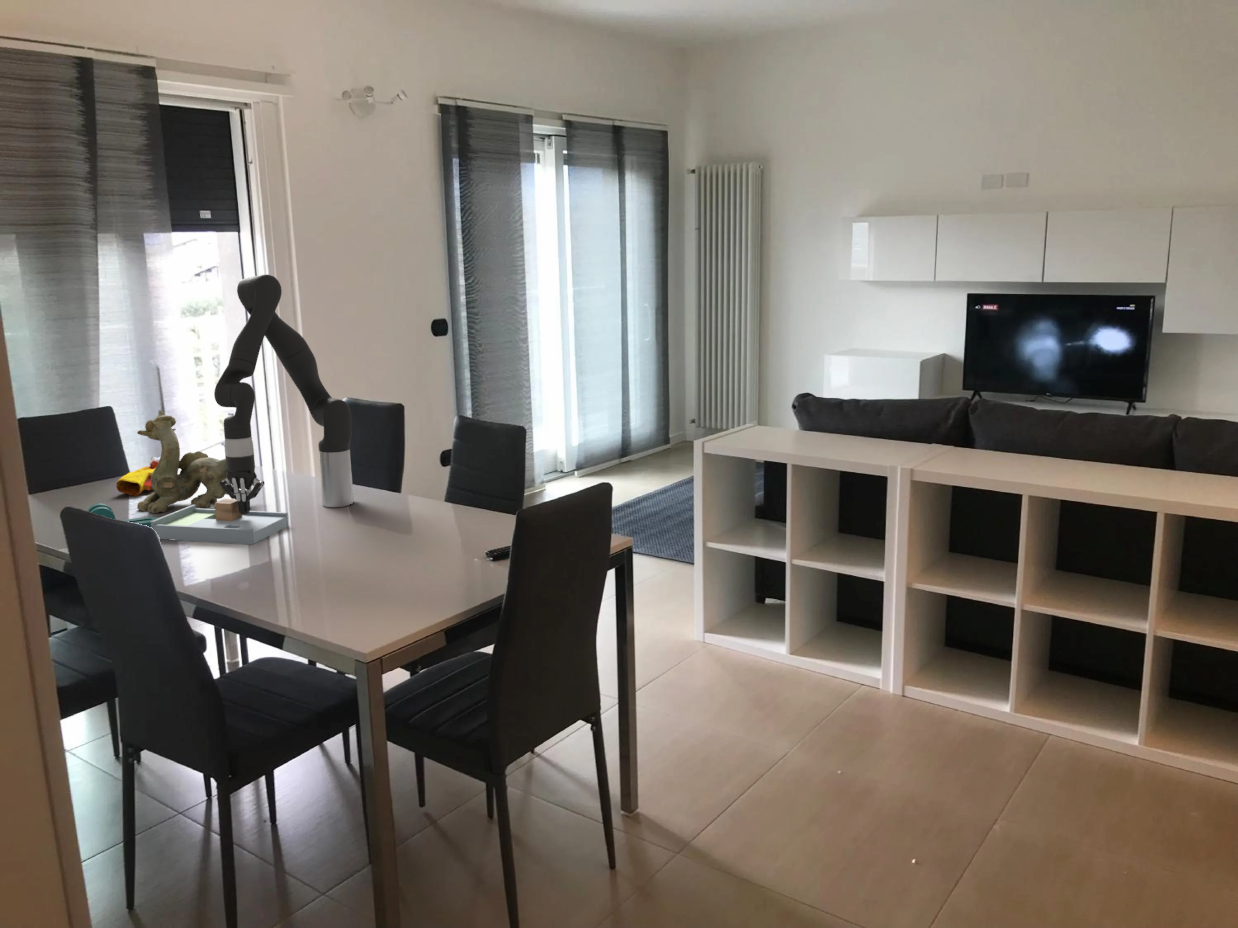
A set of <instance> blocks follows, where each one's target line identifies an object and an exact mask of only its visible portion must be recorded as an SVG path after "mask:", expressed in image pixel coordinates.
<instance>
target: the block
mask: <svg viewBox="0 0 1238 928" xmlns="http://www.w3.org/2000/svg"><path fill="white" fill-rule="evenodd" d="M214 509H215V514H216V520H222V521H233V520H236V519H238V518H240V517H242V514H241V513H240V512H239V508H238V501H237V500H236V499H232V498H224V499H220V500H217V501H216V502H214Z"/></svg>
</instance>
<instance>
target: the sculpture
mask: <svg viewBox="0 0 1238 928" xmlns="http://www.w3.org/2000/svg"><path fill="white" fill-rule="evenodd" d="M176 423H177V421H176V419H175V417H173V416H172V415H168V414H167V415H166V414H165V412H164V411H163V410H161V409H160V410H158V414H157V416H156V417H154V418H153V419H149V420H147V421H146V423H145V426H144V427H145V430H138V431H137V432H136V433H137V434H138V435H141V436H143V437H147V438H149V439H150V440H154V441H160V445H161V454H160V456H161V457H160V456H159V457H160V460H159V463H158V465H157V467H156V469H155V470H154V471H153V473H152V476H151V487H152V491H153V492H152V493H151V494H149V495H148V496H146V497H145V498H144V499H143V500H141V501H138V503H137V506H136V507H137V510H138V511H142V512H149V513H151V514H159V512H161V513H163V512H167V511H168V506H171V505H173V504H176V503H177V502H183V501H186V500H189V499H190V498H192V497H193V496H194V495H195V494H196V493H197V492H198V490H199V488H200V486H201V484H202V485H203V486H204V487H205V488H206V492H205V493H201V494H199V495H197V496H196V497H194V498H192V499H191V500H190V506H191V505H196V508H203V509H207V508H209V507H210V506H211V504H213V503H214V504H215V503H216V502H218V500H221V499H222V498H224V497H225V495H226V496H227V495H228V494H227V492H226V491H225V490H224V489H223V487H222V486H221V485H220V482H221V481H223V480H225V479H226V478H227V473H228V471H227V469H226V458H223V459H218V458H215V457H209V456H208V454H206V453H203V452H202V451H200V450H198V451H197V450H196V452H195V451H194V452H188V453H185V454H184V455H183V456H182V457H181V454H180V453H181V449H180V443H179V438H178V437H177V434H176V432H175V431H176V428H175V427H174V428H172V427H173V426H175V425H176ZM180 458H181V459H180ZM179 469H180V471H179ZM253 485H254V483H253ZM253 485H252V486H253ZM228 496H229V495H228Z"/></svg>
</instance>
